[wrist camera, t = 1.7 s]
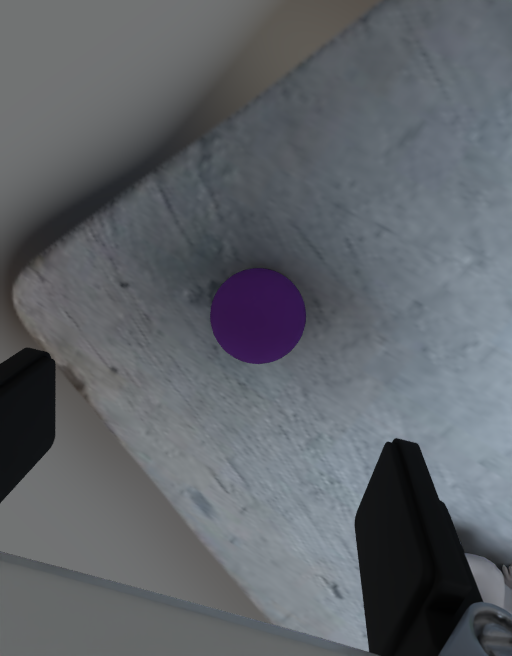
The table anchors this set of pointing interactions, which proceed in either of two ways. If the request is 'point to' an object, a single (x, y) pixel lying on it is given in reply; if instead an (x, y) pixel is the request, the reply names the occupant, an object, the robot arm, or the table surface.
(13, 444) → the robot arm
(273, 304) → the ball
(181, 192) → the table surface
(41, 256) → the table surface
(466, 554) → the figurine
